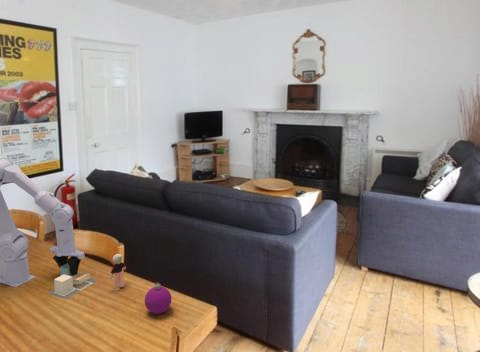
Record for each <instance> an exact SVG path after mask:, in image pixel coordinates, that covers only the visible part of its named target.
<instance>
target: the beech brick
mask: <svg viewBox="0 0 480 352" xmlns="http://www.w3.org/2000/svg"><path fill="white" fill-rule="evenodd" d="M72 278H73V284H81V283H83V282H84V281H86V280H88V279H90V278H91V273H77V274H75V275H73V276H72ZM91 279H92V278H91Z"/></svg>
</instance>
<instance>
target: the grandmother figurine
mask: <svg viewBox="0 0 480 352" xmlns="http://www.w3.org/2000/svg"><path fill="white" fill-rule="evenodd" d="M123 257H124V256H123V255H122V254H120V253H116V254H114V256H112V261H113V262H114V265H113V266H112V268H111V271H110V275H109V279H111V280H112V279H113V288H112V289H113V291H114V292H117V291H120V290H121V288H124V287H125V286H126V284H125V278H124V272H123V270H126V269H127V267H126V264H125V263H124V262H123Z"/></svg>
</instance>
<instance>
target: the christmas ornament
mask: <svg viewBox="0 0 480 352" xmlns="http://www.w3.org/2000/svg"><path fill="white" fill-rule="evenodd" d="M144 304H145V308H146V309H147V310H148V311H149V313H150V312H151V314H152V313H153V314H156V315H158V314H162V313H164V312H166V311H167V310H168V309H169V308H170V306H171V304H172V294H171V292H170V290H169V289H167V288H166V287H164V286H161V284H160V283H159V282H156V283H155V285H154V286H153V287H151V288H150V289H149V290H148V291H147V293H146V294H145V297H144Z"/></svg>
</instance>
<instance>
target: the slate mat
mask: <svg viewBox="0 0 480 352" xmlns="http://www.w3.org/2000/svg"><path fill="white" fill-rule="evenodd" d="M98 281H99V280H98V279H95V278H90V279H88V280H86V281H84V282H83V283H81V284H73V289H74V290H73V291H71V292H69V293H68V294H66V295H64V296H63V295H60V294H57V293H55V288H53V289H52V290H50V291H47V294H49V295H51V296H53V297H57V298H59V299H63V300H68V299H70V298H71V297H73V296H75V295H76V294H78V293H79V292H81V291H83V290H84V289H86V288H88V287H89V286H91V285H94V283H96V282H98Z"/></svg>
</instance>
